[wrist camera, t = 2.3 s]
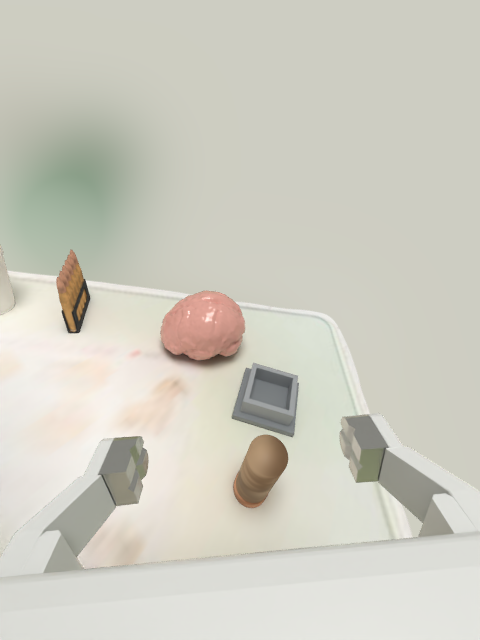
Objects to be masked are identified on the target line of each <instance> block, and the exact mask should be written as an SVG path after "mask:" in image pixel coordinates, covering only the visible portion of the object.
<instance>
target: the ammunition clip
mask: <svg viewBox="0 0 480 640" xmlns="http://www.w3.org/2000/svg"><path fill="white" fill-rule="evenodd" d="M57 289H58V293H59V299H60V303H61V306H62V309H63V310H62V315H63V318H64V321H65V324H66V327H67V330H68V333H79V332H80V329H81V326H82V323H83V319H84V316H85V313H86V310H87V307H88V303H89V300H90V296H89V292H88V288H87V284H86V281H85V279H83V275H82V271H81V268H80V266H79V263H78V261H77V258H76V255H75V253H74V252H73V251H72V250H71V251H70V255H68V257H67V260H66V261H65V266H64V265H63V267H62V271H60V274H59V277H57Z"/></svg>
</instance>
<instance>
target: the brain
mask: <svg viewBox="0 0 480 640" xmlns="http://www.w3.org/2000/svg"><path fill="white" fill-rule="evenodd" d="M244 332H245V320H244V318H243V316H242V312H241V310H240V307H239V306H238V305H237V304H236V303H235V302H234V301H233V300H232V299H231V298H229V297H227V296H226V295H225V294H222V293H219V292H214V291H202V292H199V293H196V294H194V295H190V296H187V297H186V298H185V299H182V300H180V301H179V302H178V303H177V304H176V305H175V306H174V307H173V308H172V309H171V310H170V311H169V312H168V313H167V314H166V315H165V317H164V319H163V324H162V326H161V331H160V334H161V340H162V342H163V344H164V346H165V348H166V349H167V350H169V351H170V352H172V354H174V355H179V354H183V353H184V354H185V355H187V356H189V358H190V359H191V358H192V359H195V360H204V359H210V358H211V357H214V356H215V355H217V354H220V355H223V356H225V357H226V356H231V355H233V354H235V353H236V352H237V350H238V348H239V346H240V345H241V342H242V334H243V333H244Z"/></svg>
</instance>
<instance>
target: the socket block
mask: <svg viewBox="0 0 480 640" xmlns="http://www.w3.org/2000/svg"><path fill="white" fill-rule="evenodd" d="M297 380H298V376H297V375H293V374H290V373H286V372H283V371H280V370H276V369H273V368H269V367H266V366H262V365H259V364H256V363H253V365H252V369H249V368H246V370H245V373H244V377H243V380H242V384H241V387H240V391H239V394H238V398H237V401H236V405H235V408H234V412H233V415H232V418H233V419H236V420H239V421H242V422H246V423H249V424H252V425H255V426H259V427H262V428H265V429H268V430H272V431H275V432H278V433H281V434H285V435H288V436H291V437H292V436H293V435H294V429H295V418H296V408H297V397H298V386H299V383H297Z"/></svg>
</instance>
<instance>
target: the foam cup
mask: <svg viewBox="0 0 480 640" xmlns="http://www.w3.org/2000/svg"><path fill="white" fill-rule="evenodd" d="M14 306H15V300H14V295H13V291H12V287H11V284H10V280H9V276H8V272H7V269H6V265H5V261H4V258H3V250H2V247H1V245H0V315H1V314H4V313H6V312H8V311H10V310H11V309H12V308H13V307H14Z"/></svg>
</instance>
